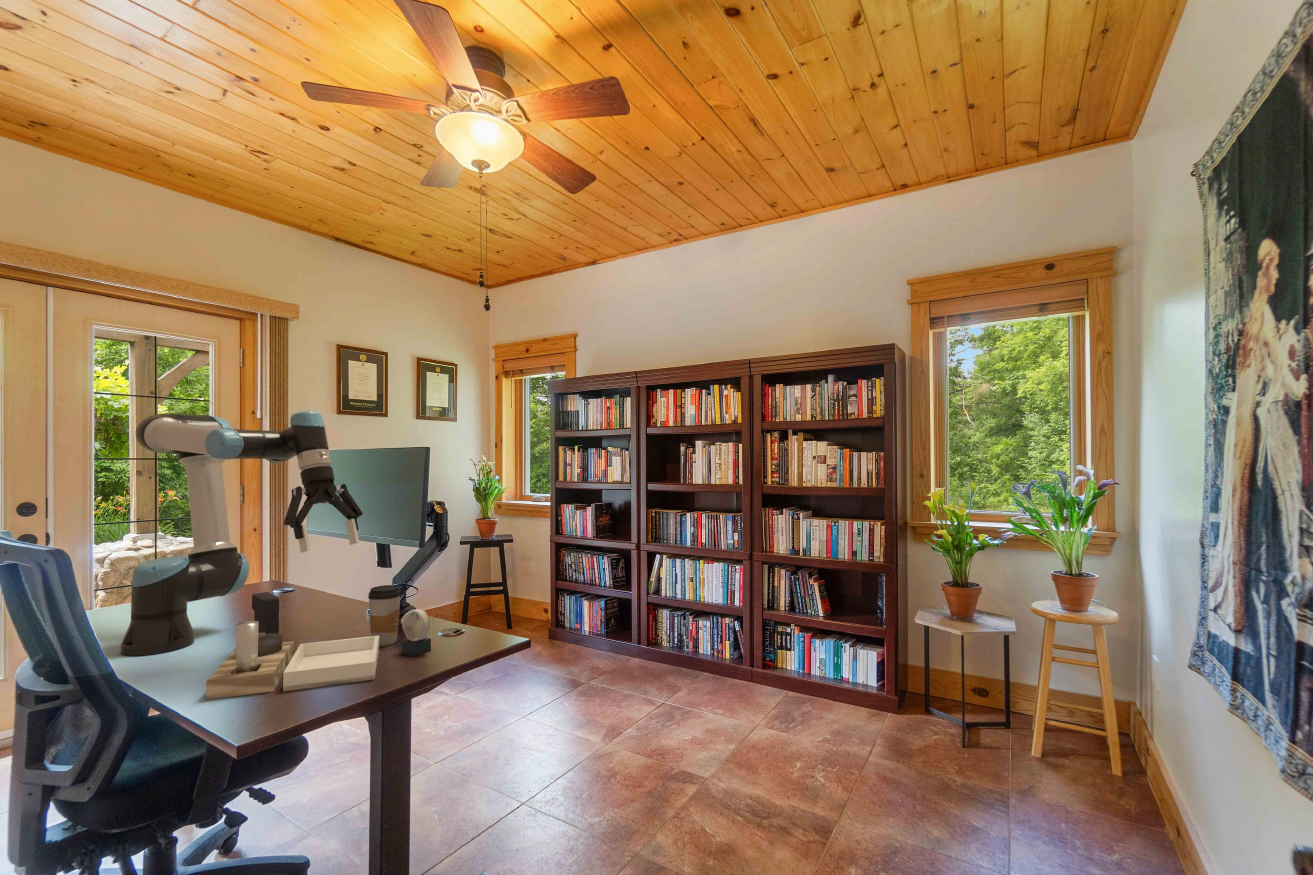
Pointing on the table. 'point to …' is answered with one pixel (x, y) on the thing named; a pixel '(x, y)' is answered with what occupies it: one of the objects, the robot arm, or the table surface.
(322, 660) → the tray
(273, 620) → the black upright block
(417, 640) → the watch
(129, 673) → the table surface
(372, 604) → the coffee cup
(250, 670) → the lock pin
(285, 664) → the tensioner plate
